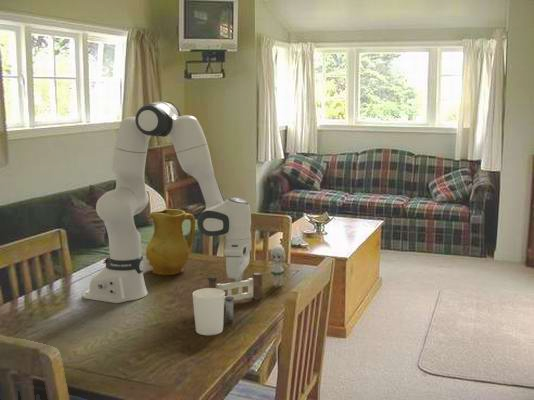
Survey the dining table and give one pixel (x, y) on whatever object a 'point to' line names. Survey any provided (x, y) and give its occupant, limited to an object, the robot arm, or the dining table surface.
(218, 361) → the dining table surface
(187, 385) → the dining table surface
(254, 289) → the fence post
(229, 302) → the post
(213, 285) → the hinge post
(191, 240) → the pitcher
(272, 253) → the figurine
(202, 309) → the candle holder
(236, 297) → the gate
